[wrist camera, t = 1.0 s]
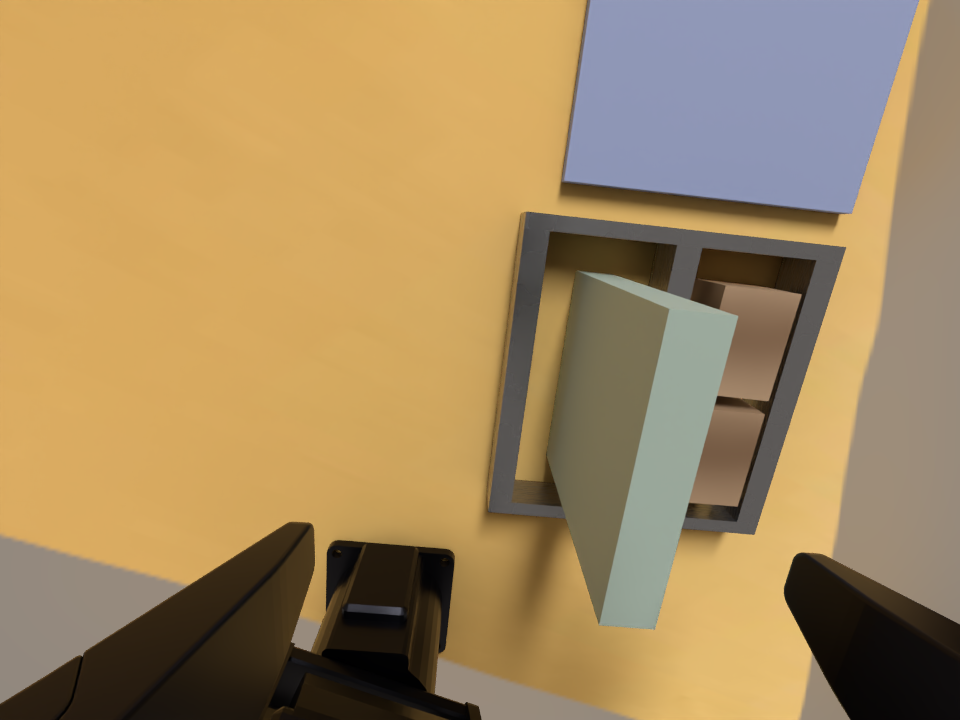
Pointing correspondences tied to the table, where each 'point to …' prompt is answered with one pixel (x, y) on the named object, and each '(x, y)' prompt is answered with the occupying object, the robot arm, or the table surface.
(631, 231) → the rack
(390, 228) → the table surface
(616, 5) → the mat
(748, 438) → the offcut
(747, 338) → the offcut
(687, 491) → the green upright panel
